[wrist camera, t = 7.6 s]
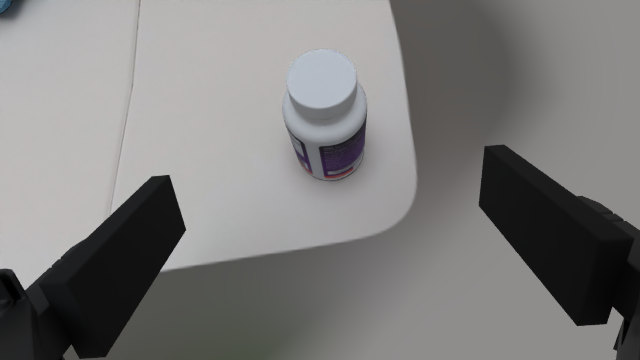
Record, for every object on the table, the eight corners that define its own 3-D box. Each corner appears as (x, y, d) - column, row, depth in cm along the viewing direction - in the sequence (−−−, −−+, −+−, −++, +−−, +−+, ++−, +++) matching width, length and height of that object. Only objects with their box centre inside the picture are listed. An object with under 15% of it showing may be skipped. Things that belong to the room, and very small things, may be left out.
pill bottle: (370, 129, 29) (380, 47, 20) (354, 189, 27) (356, 130, 18) (308, 115, 30) (290, 30, 21) (288, 172, 28) (259, 108, 19)
